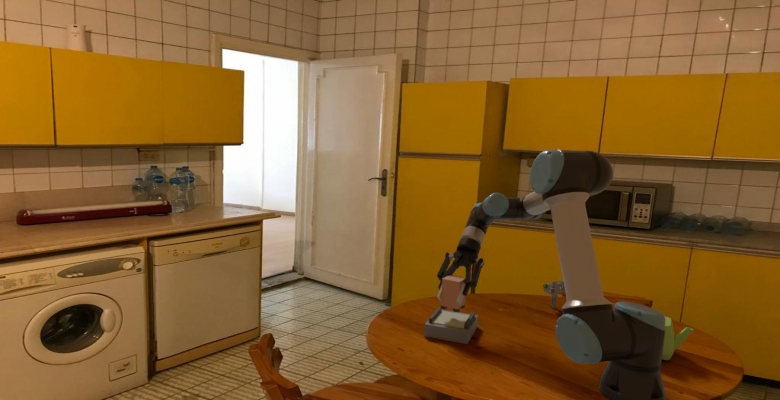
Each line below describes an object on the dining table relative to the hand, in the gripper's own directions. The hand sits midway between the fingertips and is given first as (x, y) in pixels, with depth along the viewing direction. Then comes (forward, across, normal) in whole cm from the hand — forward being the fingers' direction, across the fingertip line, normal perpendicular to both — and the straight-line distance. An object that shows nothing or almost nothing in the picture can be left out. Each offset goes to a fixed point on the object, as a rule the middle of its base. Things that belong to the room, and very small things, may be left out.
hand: (448, 300), depth 162 cm
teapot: (-9, -58, -25) cm, 64 cm away
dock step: (+6, 0, -10) cm, 12 cm away
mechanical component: (-27, -23, -43) cm, 55 cm away
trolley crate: (0, 0, -5) cm, 5 cm away
